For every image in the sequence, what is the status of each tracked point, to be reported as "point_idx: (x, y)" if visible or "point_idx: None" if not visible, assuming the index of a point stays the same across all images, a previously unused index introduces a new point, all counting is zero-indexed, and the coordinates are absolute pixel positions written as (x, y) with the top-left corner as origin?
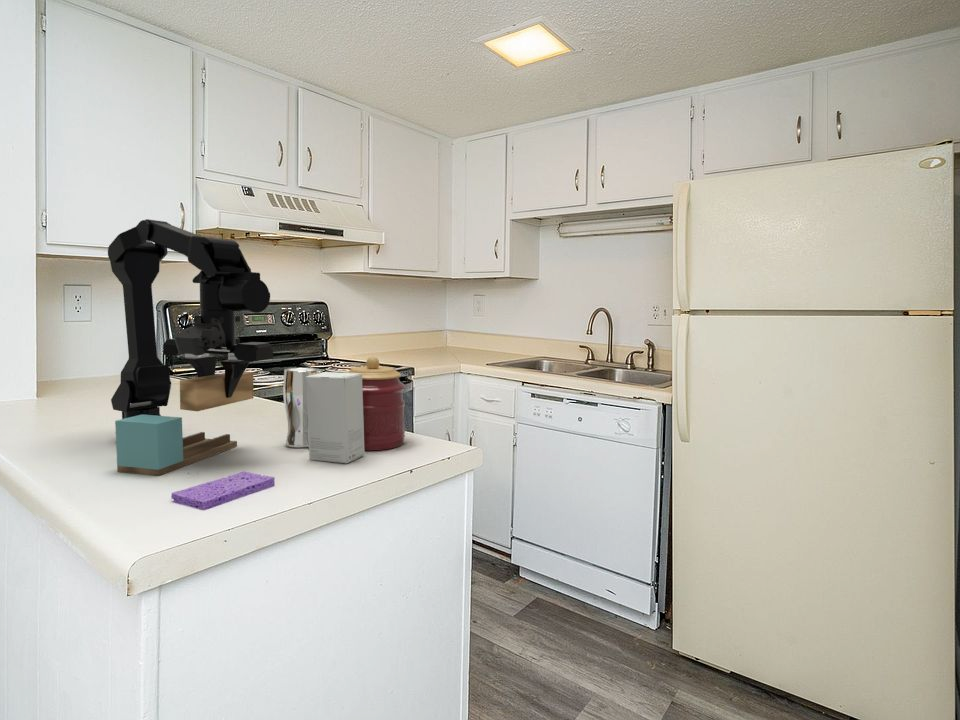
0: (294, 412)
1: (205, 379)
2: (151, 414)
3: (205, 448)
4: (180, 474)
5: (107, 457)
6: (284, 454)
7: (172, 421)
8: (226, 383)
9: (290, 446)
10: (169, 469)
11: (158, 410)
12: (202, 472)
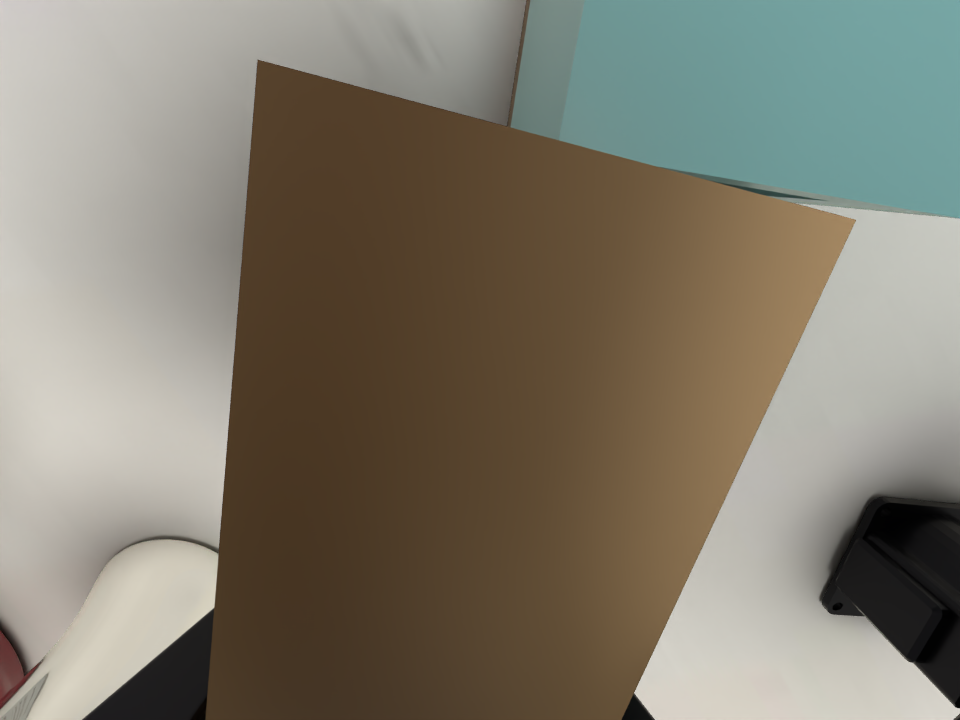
0: (44, 706)
1: (342, 521)
2: (954, 634)
3: None
4: (436, 9)
5: (930, 257)
6: (147, 439)
7: (578, 3)
8: (187, 689)
9: (190, 543)
10: (521, 47)
11: (943, 683)
12: (344, 66)
